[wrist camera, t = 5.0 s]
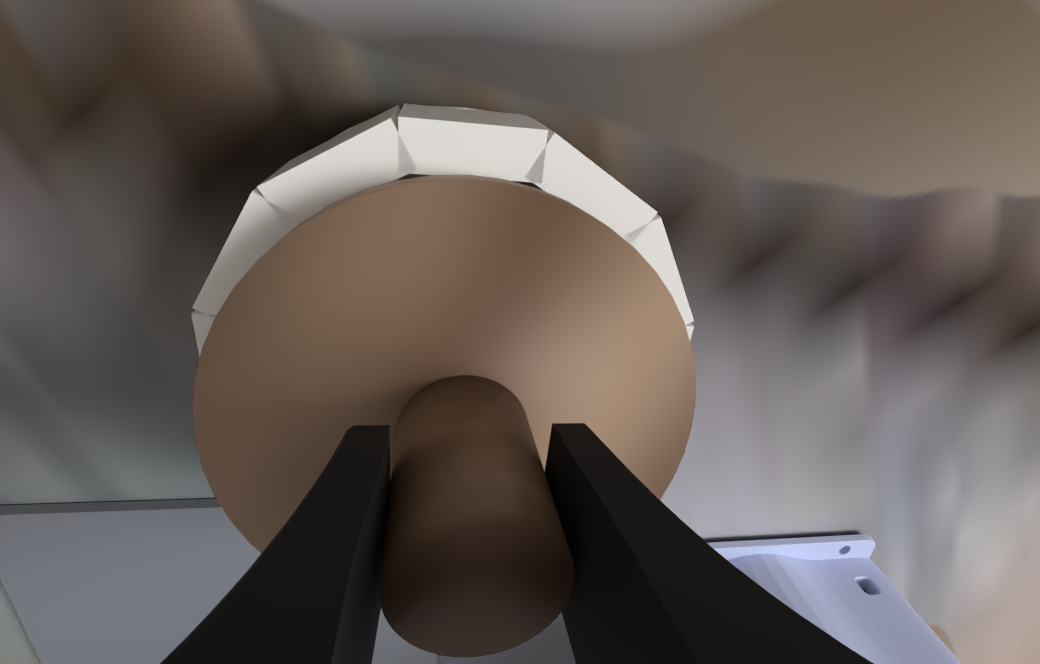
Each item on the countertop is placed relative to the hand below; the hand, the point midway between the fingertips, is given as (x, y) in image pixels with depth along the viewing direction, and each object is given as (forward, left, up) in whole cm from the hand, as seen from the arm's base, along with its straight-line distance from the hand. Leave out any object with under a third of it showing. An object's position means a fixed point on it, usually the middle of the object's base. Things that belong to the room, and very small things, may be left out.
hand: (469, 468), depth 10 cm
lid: (0, +1, -3) cm, 3 cm away
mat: (+7, +12, -7) cm, 15 cm away
